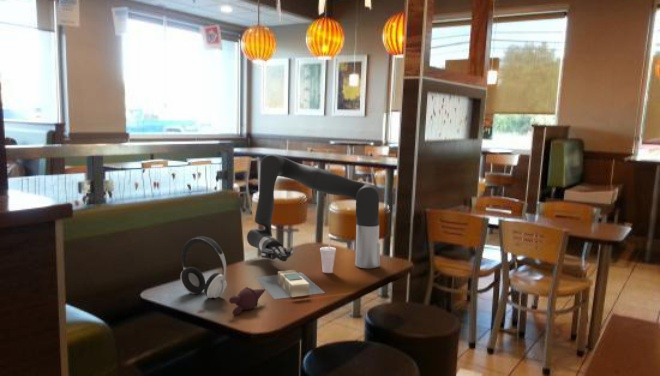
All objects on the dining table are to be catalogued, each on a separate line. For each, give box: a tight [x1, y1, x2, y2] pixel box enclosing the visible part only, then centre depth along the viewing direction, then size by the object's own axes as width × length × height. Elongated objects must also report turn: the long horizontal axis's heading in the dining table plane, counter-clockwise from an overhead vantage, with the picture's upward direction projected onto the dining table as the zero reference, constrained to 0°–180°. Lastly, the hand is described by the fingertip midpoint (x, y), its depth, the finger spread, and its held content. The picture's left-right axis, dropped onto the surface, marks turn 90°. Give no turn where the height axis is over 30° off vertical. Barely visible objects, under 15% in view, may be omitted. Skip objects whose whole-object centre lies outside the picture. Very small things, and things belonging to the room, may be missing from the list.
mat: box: [255, 272, 326, 300], centre depth 175 cm, size 24×18×1 cm
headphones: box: [180, 235, 228, 299], centre depth 162 cm, size 19×8×20 cm, turn 60°
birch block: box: [277, 269, 310, 298], centre depth 170 cm, size 4×6×16 cm
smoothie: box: [319, 237, 337, 274], centre depth 190 cm, size 6×6×14 cm
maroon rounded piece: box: [228, 286, 266, 316], centre depth 153 cm, size 7×7×15 cm
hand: (284, 258), depth 178 cm, fingers closed
